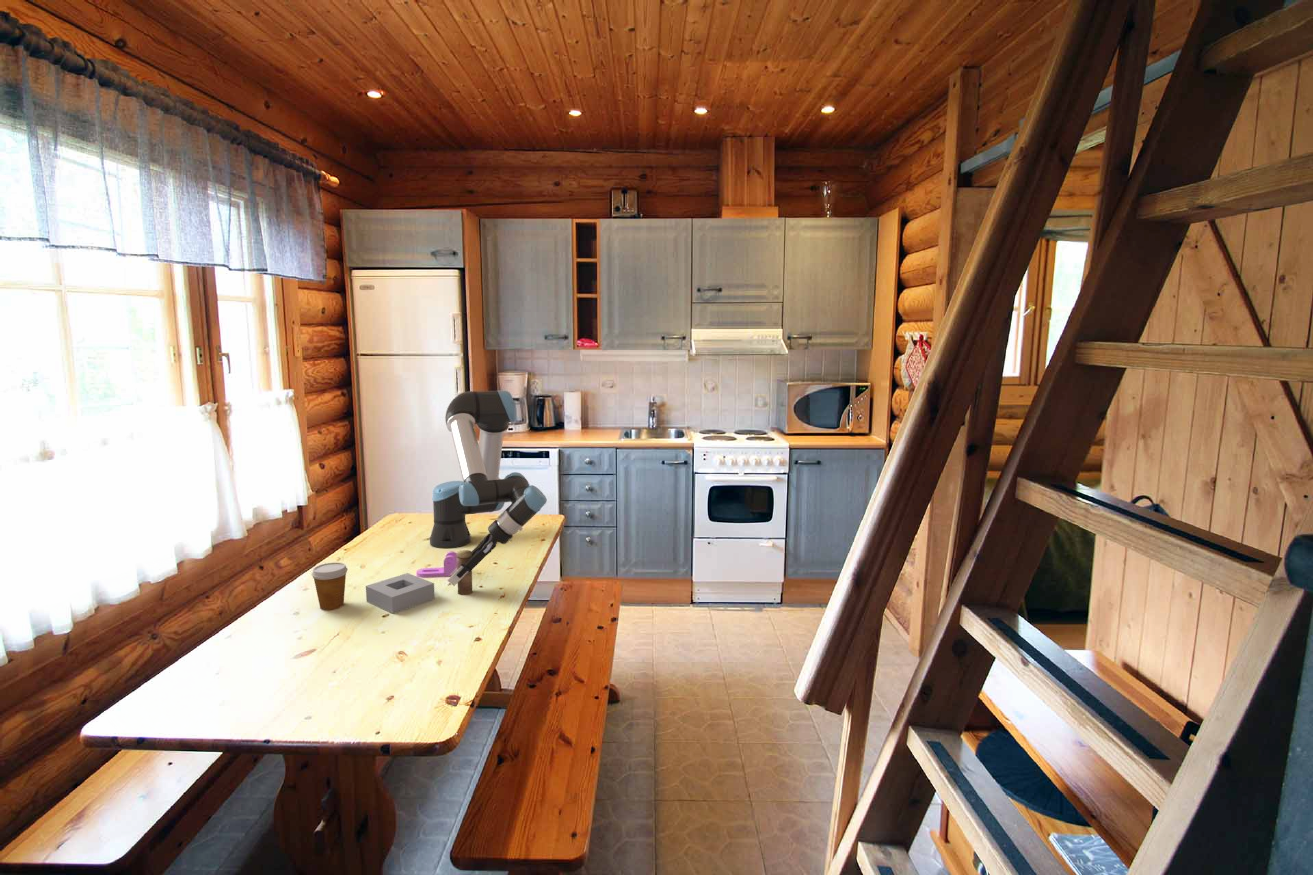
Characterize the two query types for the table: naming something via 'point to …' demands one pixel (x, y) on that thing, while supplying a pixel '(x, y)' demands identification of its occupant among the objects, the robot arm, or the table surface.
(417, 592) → the socket block
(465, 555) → the walnut pin
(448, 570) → the bracket
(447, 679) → the table surface
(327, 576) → the disposable coffee cup
